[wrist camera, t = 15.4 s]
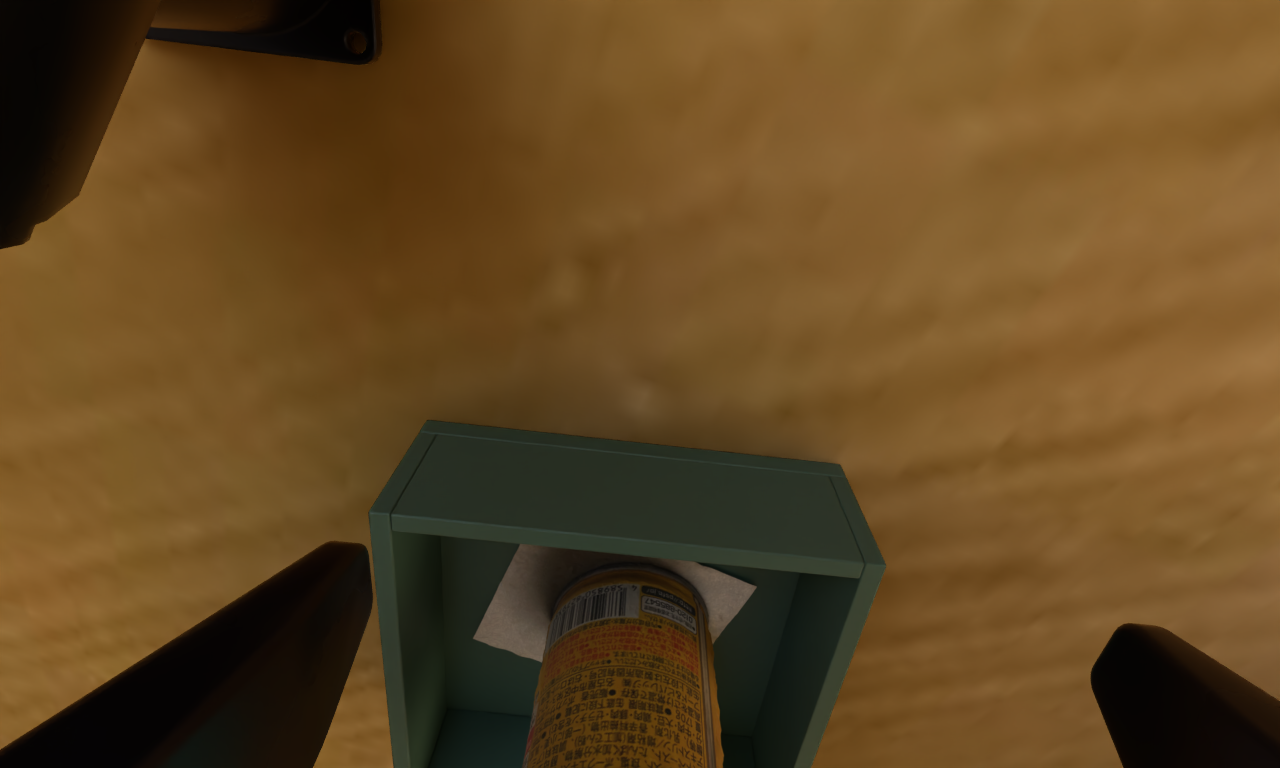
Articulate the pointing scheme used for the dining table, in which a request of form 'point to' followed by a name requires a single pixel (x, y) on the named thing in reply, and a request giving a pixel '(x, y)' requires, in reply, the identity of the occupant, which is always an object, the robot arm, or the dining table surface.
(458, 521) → the square tray
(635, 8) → the dining table surface
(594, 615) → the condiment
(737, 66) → the dining table surface
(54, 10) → the robot arm
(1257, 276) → the dining table surface
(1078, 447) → the dining table surface
